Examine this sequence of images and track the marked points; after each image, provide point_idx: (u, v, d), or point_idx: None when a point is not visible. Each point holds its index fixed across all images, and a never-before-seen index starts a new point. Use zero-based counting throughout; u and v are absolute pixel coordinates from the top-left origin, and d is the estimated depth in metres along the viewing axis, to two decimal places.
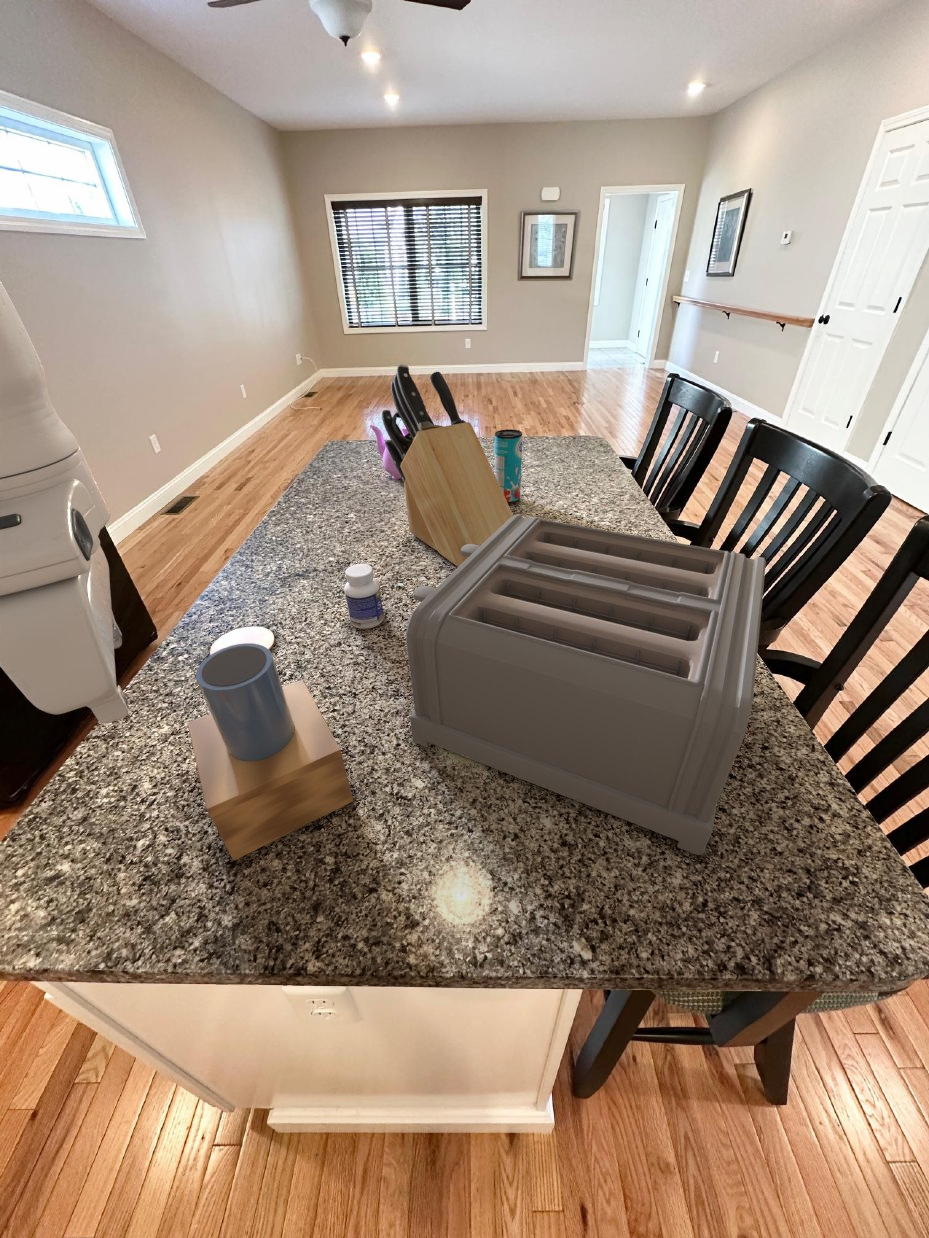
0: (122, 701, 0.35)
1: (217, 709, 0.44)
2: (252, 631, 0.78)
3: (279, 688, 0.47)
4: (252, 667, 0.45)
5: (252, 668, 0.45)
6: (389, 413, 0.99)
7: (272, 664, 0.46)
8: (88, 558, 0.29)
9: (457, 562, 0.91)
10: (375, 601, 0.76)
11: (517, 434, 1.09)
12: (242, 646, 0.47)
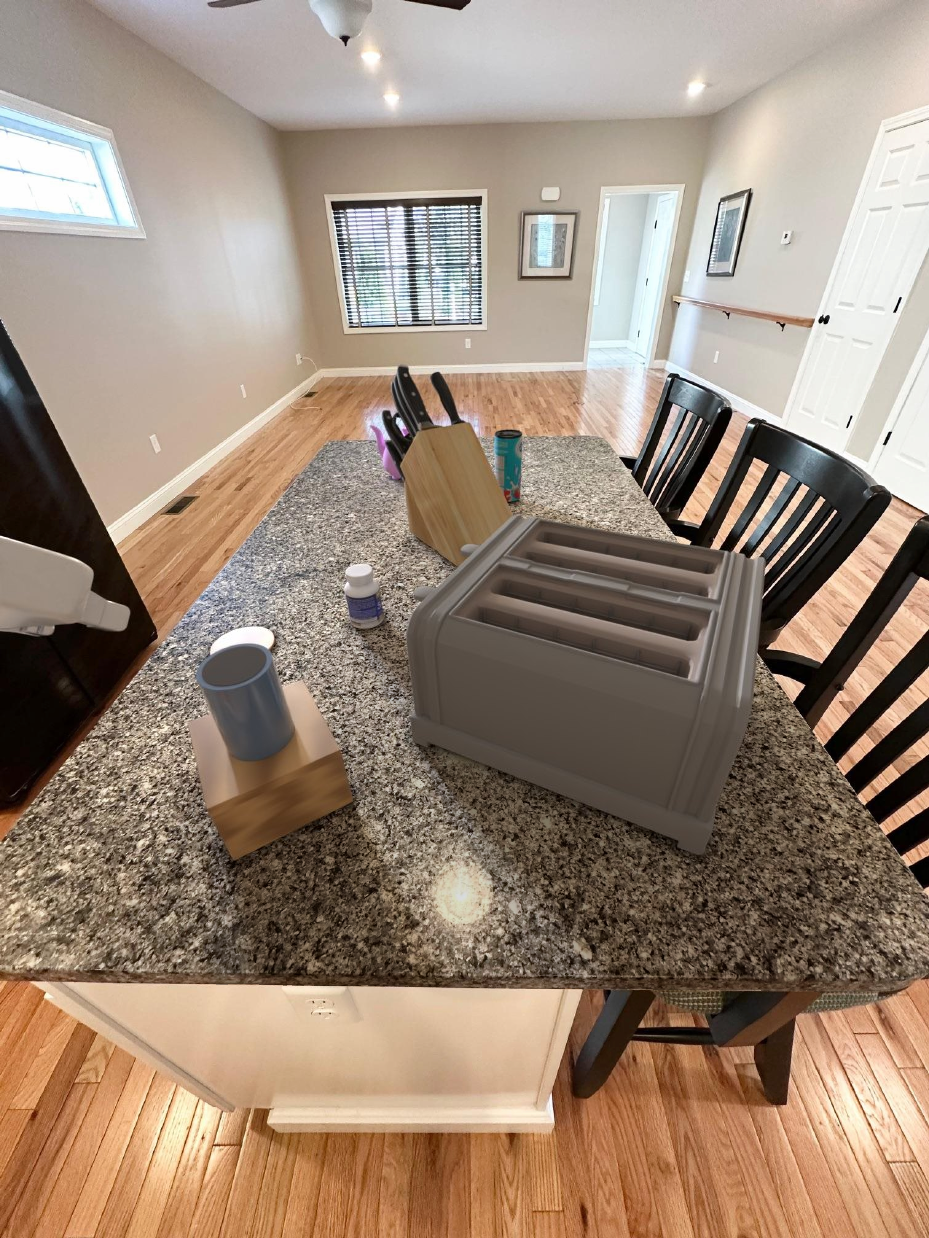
0: (22, 633, 0.39)
1: (217, 709, 0.44)
2: (252, 631, 0.78)
3: (279, 688, 0.47)
4: (252, 667, 0.45)
5: (252, 668, 0.45)
6: (389, 413, 0.99)
7: (272, 664, 0.46)
8: None
9: (457, 562, 0.91)
10: (375, 601, 0.76)
11: (517, 434, 1.09)
12: (242, 646, 0.47)
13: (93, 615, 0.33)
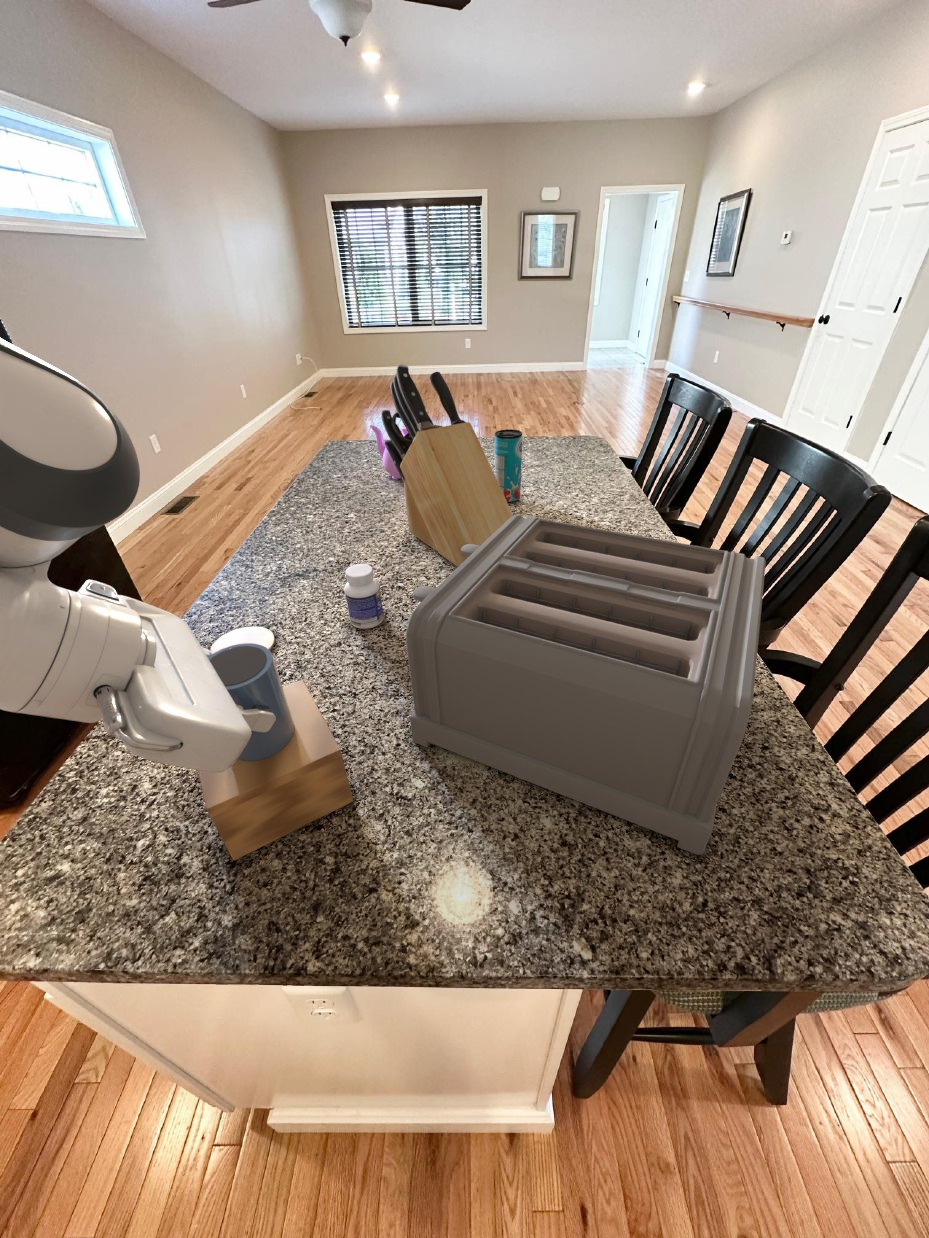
0: None
1: None
2: (252, 631, 0.78)
3: (279, 688, 0.47)
4: (252, 667, 0.45)
5: (253, 668, 0.45)
6: (389, 413, 0.99)
7: (272, 664, 0.46)
8: None
9: (457, 562, 0.91)
10: (375, 601, 0.76)
11: (517, 434, 1.09)
12: (243, 646, 0.47)
13: None
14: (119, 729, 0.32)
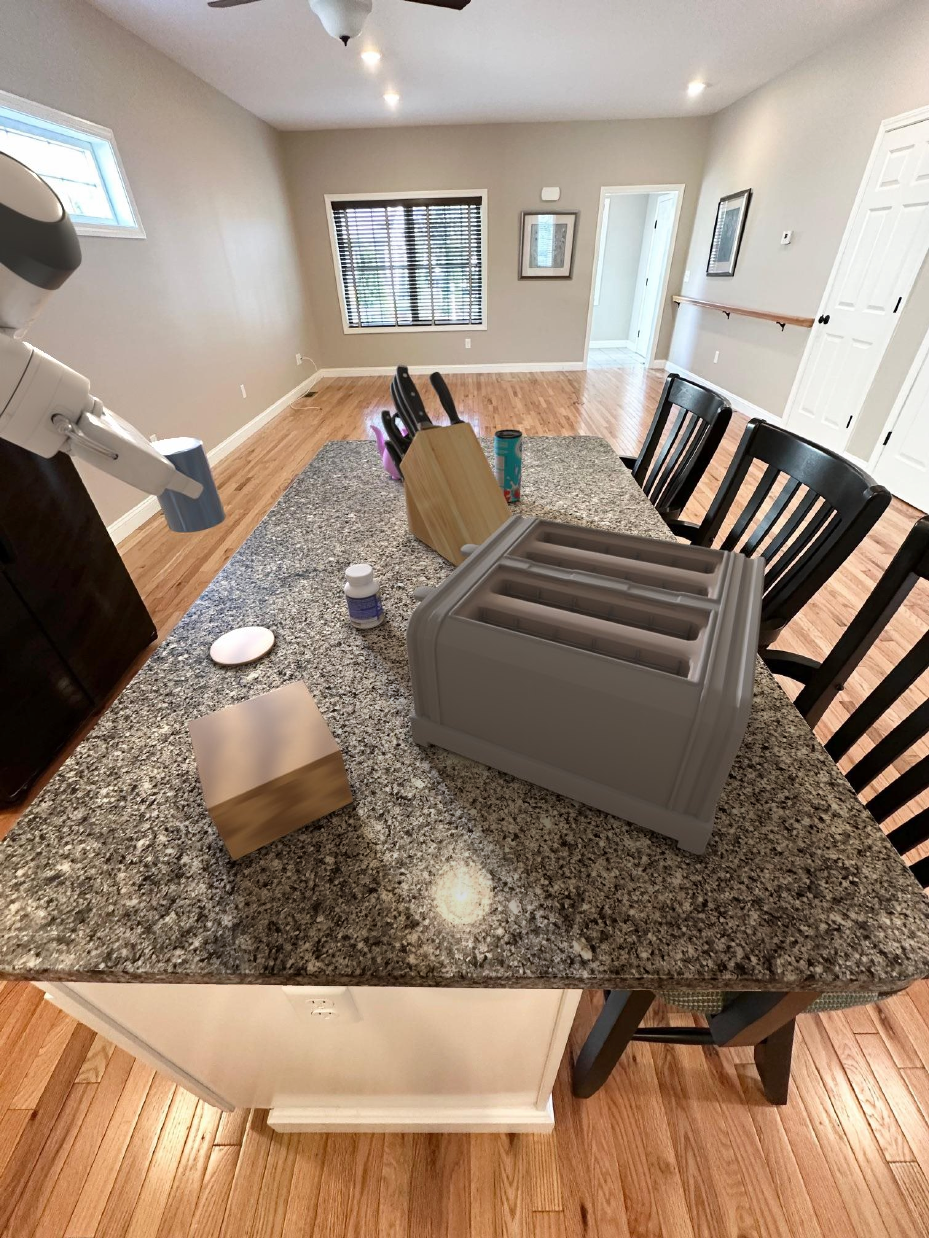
0: None
1: None
2: (252, 631, 0.78)
3: (209, 471, 0.59)
4: (184, 446, 0.57)
5: (185, 447, 0.56)
6: (388, 413, 0.99)
7: (201, 447, 0.57)
8: None
9: (457, 562, 0.91)
10: (375, 601, 0.76)
11: (517, 434, 1.09)
12: (180, 439, 0.59)
13: (177, 486, 0.54)
14: (68, 429, 0.44)
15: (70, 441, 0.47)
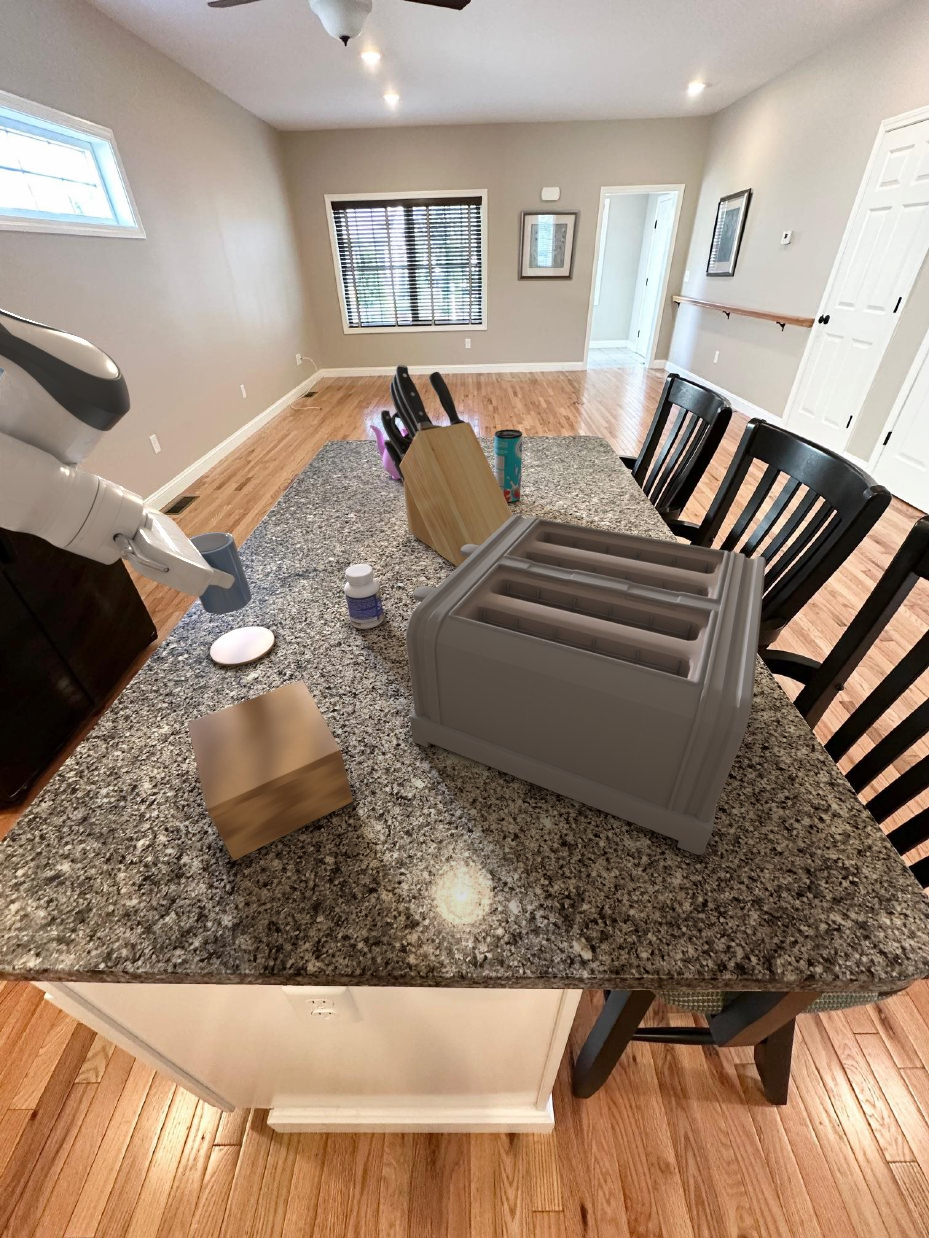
0: None
1: None
2: (252, 631, 0.78)
3: (238, 562, 0.68)
4: (218, 543, 0.66)
5: (219, 544, 0.65)
6: (388, 413, 0.99)
7: (233, 542, 0.66)
8: None
9: (457, 562, 0.91)
10: (375, 601, 0.76)
11: (517, 434, 1.09)
12: (213, 533, 0.68)
13: (213, 581, 0.63)
14: (130, 552, 0.53)
15: None
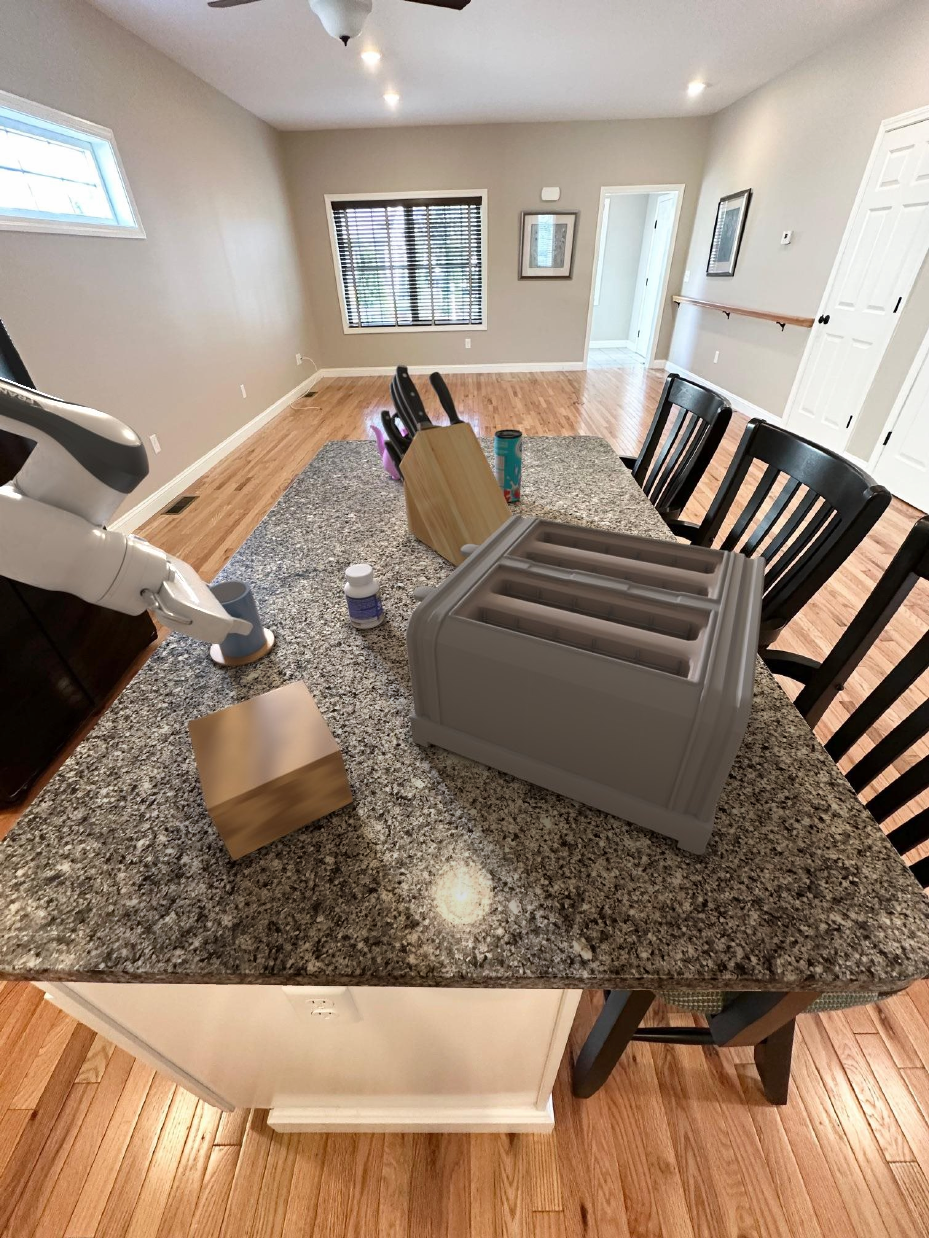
0: None
1: None
2: None
3: (255, 609, 0.72)
4: (236, 592, 0.70)
5: (237, 593, 0.70)
6: (388, 413, 0.99)
7: (250, 591, 0.71)
8: None
9: (457, 562, 0.91)
10: (375, 601, 0.76)
11: (517, 434, 1.09)
12: (231, 581, 0.72)
13: (233, 629, 0.67)
14: (157, 608, 0.57)
15: None
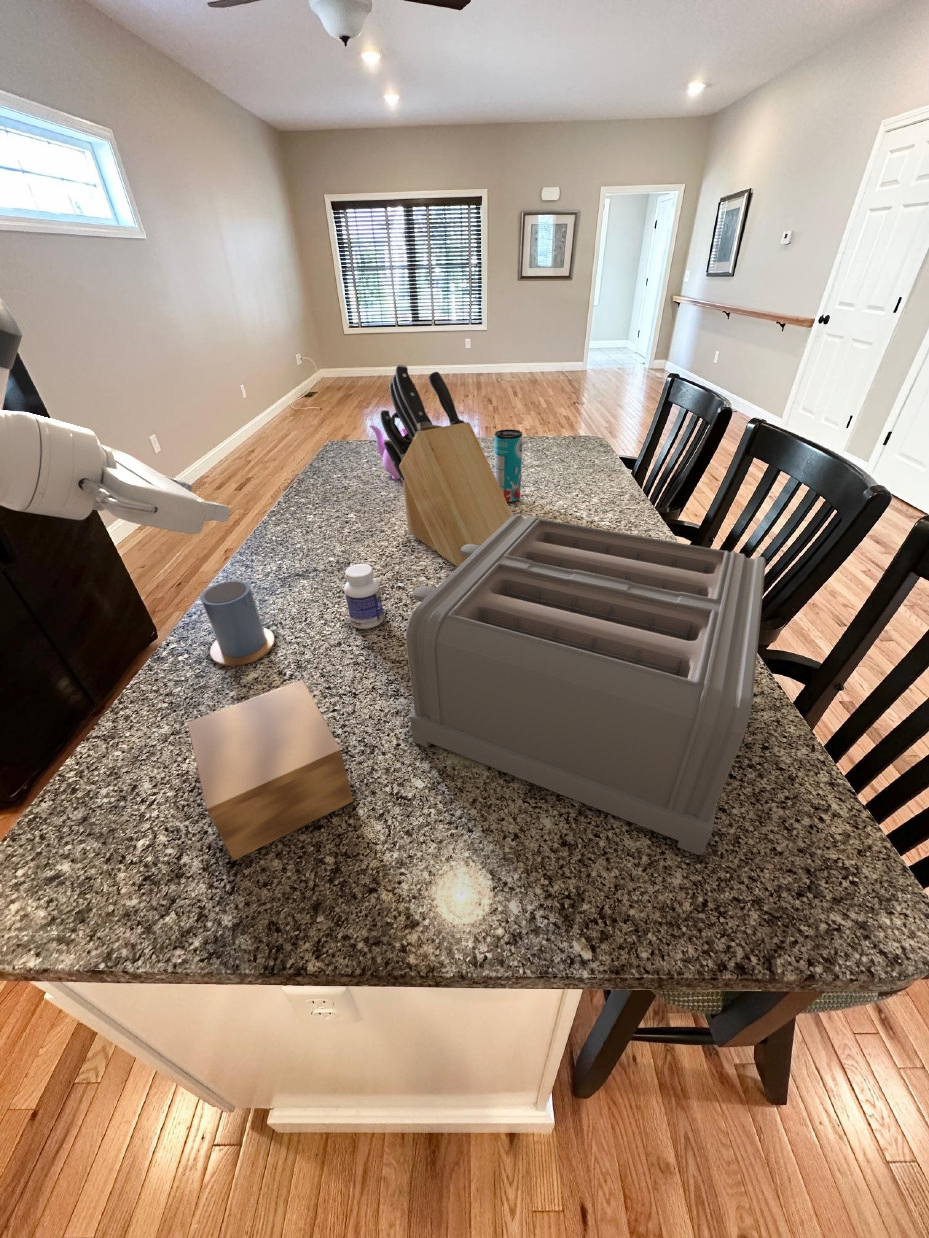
0: None
1: (214, 619, 0.69)
2: None
3: (255, 609, 0.72)
4: (236, 592, 0.70)
5: (237, 593, 0.70)
6: (388, 413, 0.99)
7: (250, 591, 0.71)
8: None
9: (457, 562, 0.91)
10: (375, 601, 0.76)
11: (517, 434, 1.09)
12: (231, 581, 0.72)
13: (209, 516, 0.55)
14: (107, 497, 0.45)
15: None
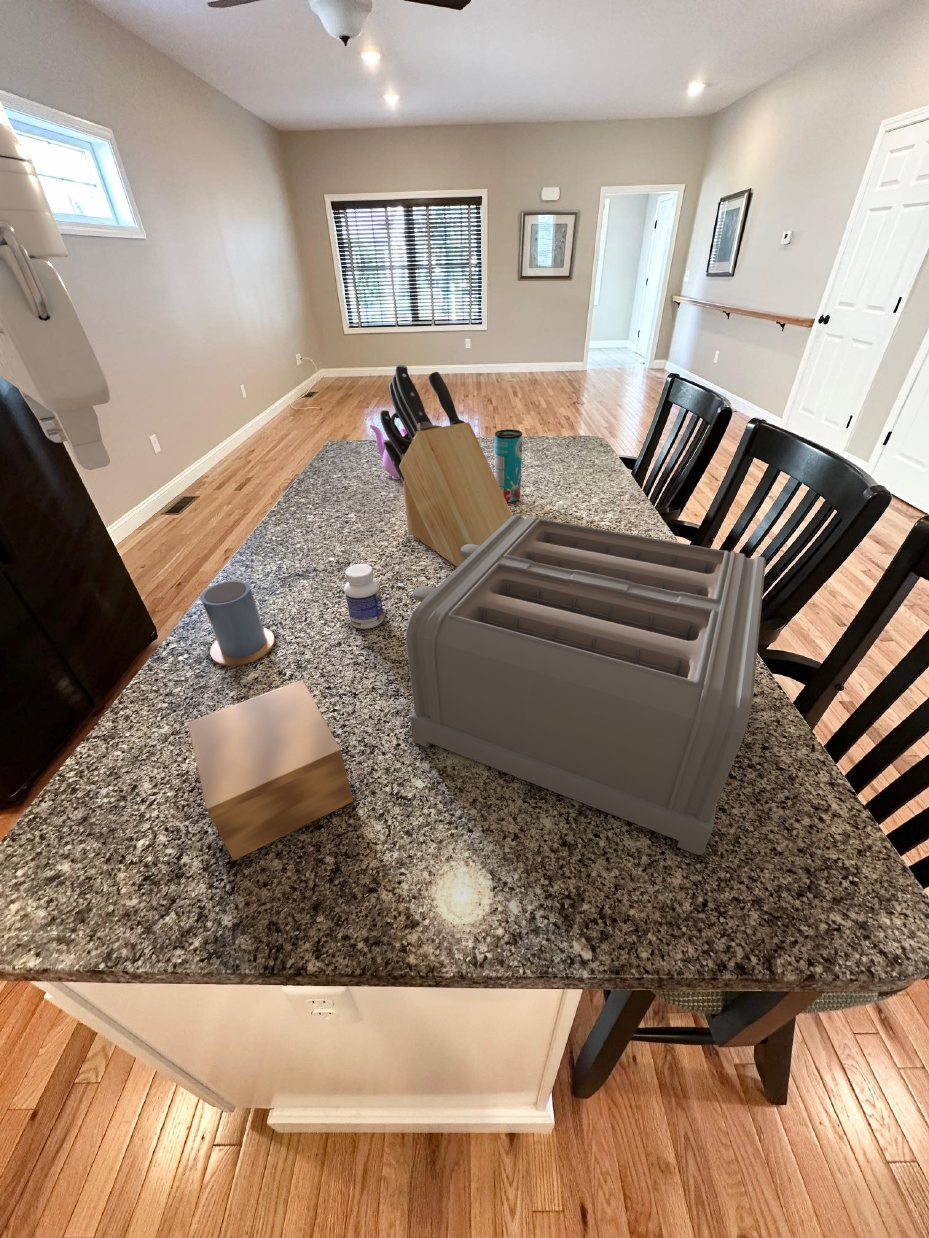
0: (40, 424, 0.41)
1: (214, 619, 0.69)
2: None
3: (255, 609, 0.72)
4: (236, 592, 0.70)
5: (237, 593, 0.70)
6: (387, 413, 0.99)
7: (250, 591, 0.71)
8: None
9: (457, 562, 0.91)
10: (375, 601, 0.76)
11: (517, 434, 1.09)
12: (231, 581, 0.72)
13: (77, 435, 0.34)
14: (9, 233, 0.27)
15: None
